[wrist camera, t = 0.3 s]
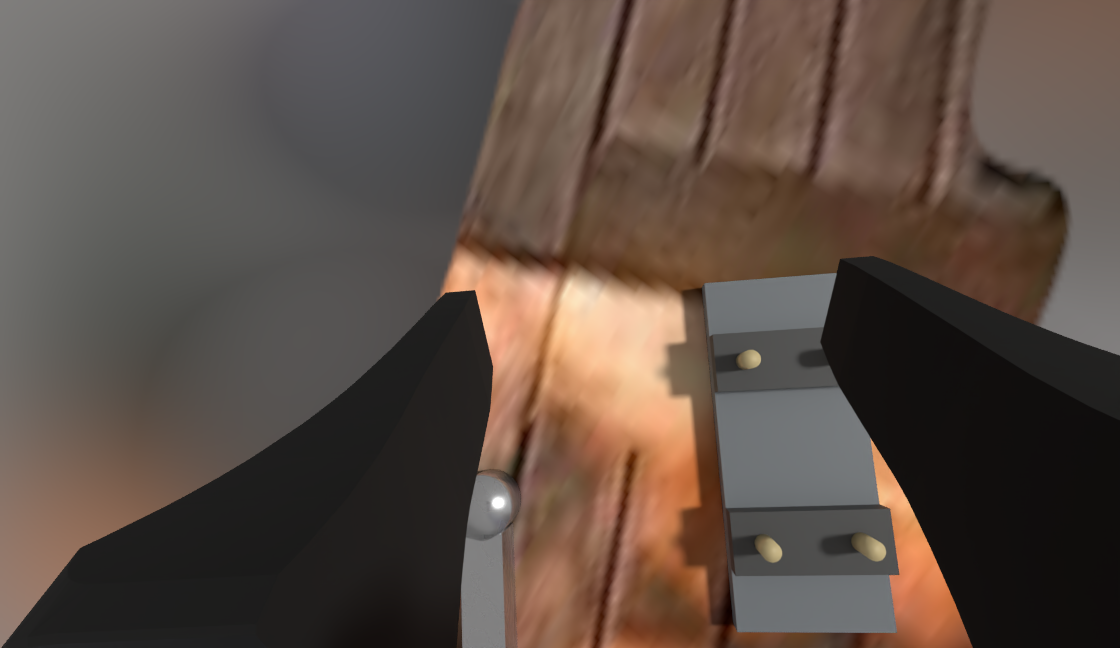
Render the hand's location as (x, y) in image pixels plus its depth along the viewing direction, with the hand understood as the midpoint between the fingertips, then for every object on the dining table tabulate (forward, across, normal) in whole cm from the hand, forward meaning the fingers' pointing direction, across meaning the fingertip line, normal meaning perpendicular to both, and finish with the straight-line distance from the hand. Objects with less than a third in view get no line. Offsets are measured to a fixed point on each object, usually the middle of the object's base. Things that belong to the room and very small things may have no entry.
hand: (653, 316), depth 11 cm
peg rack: (+17, -12, +24) cm, 32 cm away
